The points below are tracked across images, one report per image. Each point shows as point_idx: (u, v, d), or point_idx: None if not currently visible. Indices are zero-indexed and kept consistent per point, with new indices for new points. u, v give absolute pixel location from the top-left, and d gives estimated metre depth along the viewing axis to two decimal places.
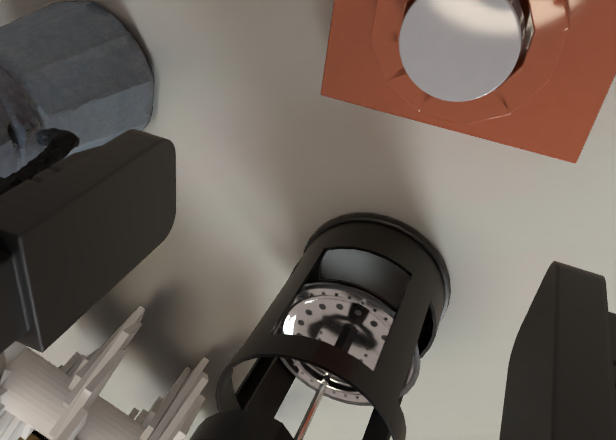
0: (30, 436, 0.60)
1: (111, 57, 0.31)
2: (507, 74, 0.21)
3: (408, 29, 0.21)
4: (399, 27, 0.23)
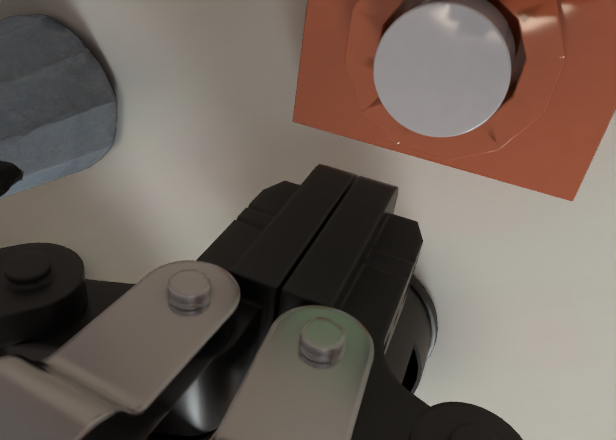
0: None
1: (66, 77, 0.29)
2: (495, 108, 0.18)
3: (383, 56, 0.19)
4: (375, 52, 0.20)
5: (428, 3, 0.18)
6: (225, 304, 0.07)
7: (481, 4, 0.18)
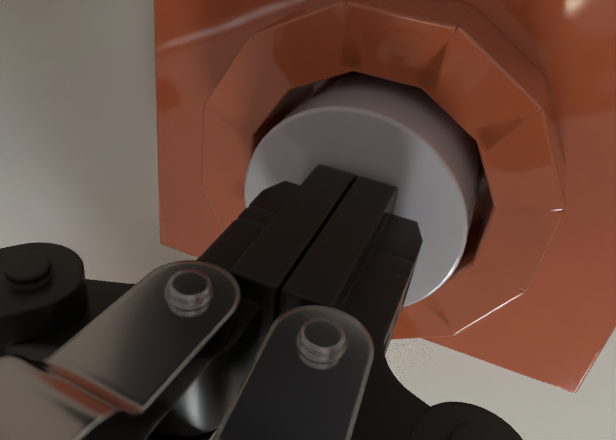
0: None
1: None
2: (444, 279, 0.11)
3: (258, 185, 0.11)
4: None
5: (321, 106, 0.10)
6: (225, 304, 0.07)
7: (417, 104, 0.10)
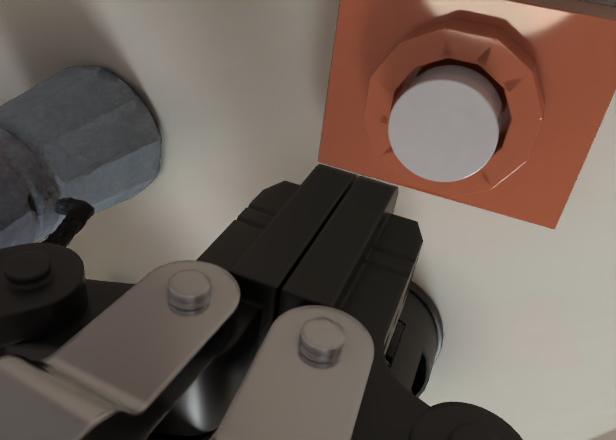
0: None
1: (121, 122, 0.33)
2: (487, 160, 0.23)
3: (396, 118, 0.23)
4: (388, 111, 0.25)
5: (432, 79, 0.22)
6: (225, 304, 0.07)
7: (474, 78, 0.22)
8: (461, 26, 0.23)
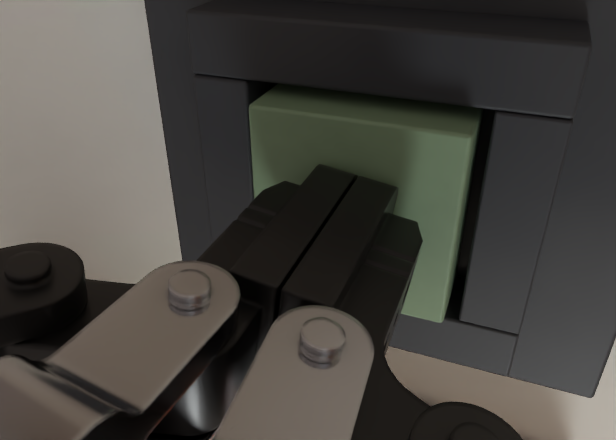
0: None
1: None
2: None
3: None
4: None
5: None
6: (225, 304, 0.07)
7: None
8: None
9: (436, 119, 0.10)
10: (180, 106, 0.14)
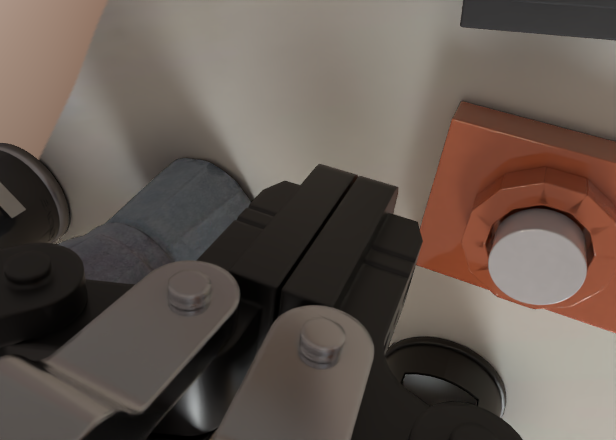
0: None
1: (229, 214, 0.38)
2: (574, 292, 0.27)
3: (497, 253, 0.28)
4: (485, 238, 0.29)
5: (531, 228, 0.26)
6: (225, 304, 0.07)
7: (566, 225, 0.27)
8: (555, 180, 0.27)
9: None
10: None
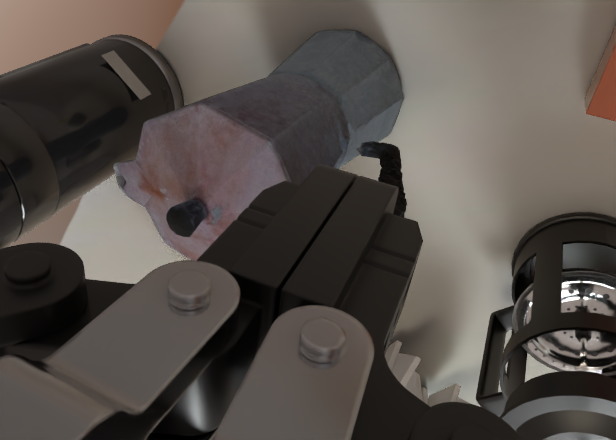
0: None
1: (382, 80, 0.37)
2: None
3: None
4: None
5: None
6: (225, 304, 0.07)
7: None
8: None
9: None
10: None
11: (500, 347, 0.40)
